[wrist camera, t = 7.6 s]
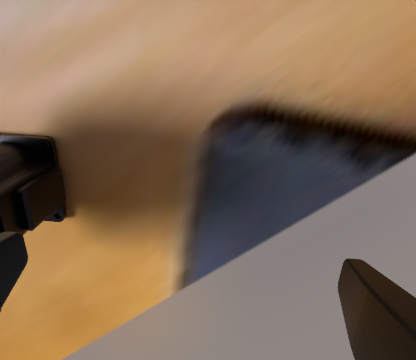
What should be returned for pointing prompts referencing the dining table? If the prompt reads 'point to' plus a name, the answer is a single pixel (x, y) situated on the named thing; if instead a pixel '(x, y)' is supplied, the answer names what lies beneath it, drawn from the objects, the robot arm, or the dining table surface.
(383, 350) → the robot arm
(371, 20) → the dining table surface
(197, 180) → the dining table surface
